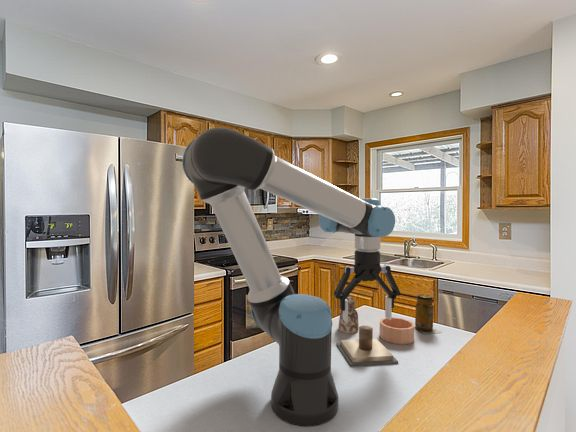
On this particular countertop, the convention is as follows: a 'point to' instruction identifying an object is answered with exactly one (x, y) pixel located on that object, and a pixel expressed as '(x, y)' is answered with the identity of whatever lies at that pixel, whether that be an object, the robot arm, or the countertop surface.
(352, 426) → the countertop surface
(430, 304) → the condiment
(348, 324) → the figurine
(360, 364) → the mat
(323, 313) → the robot arm
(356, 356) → the lid
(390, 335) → the bowl
